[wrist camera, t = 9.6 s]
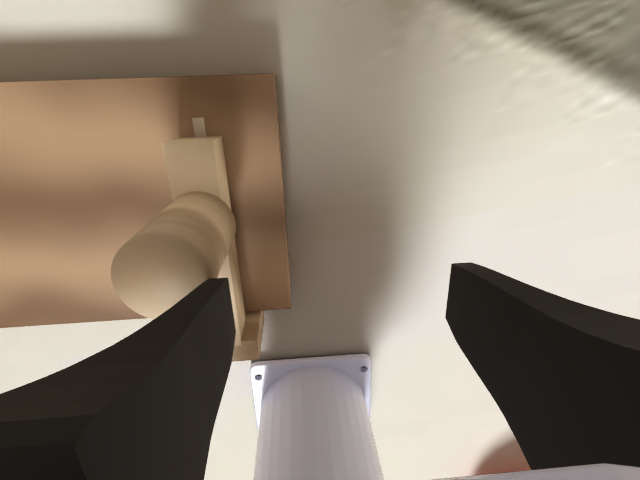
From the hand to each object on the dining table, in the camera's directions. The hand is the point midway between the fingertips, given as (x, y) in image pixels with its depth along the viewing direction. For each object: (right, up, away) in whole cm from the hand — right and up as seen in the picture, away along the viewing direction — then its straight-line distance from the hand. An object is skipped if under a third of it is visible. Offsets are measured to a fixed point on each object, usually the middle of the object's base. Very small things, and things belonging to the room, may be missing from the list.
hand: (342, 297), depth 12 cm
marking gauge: (-6, +3, +9) cm, 11 cm away
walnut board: (-13, +4, +8) cm, 15 cm away
